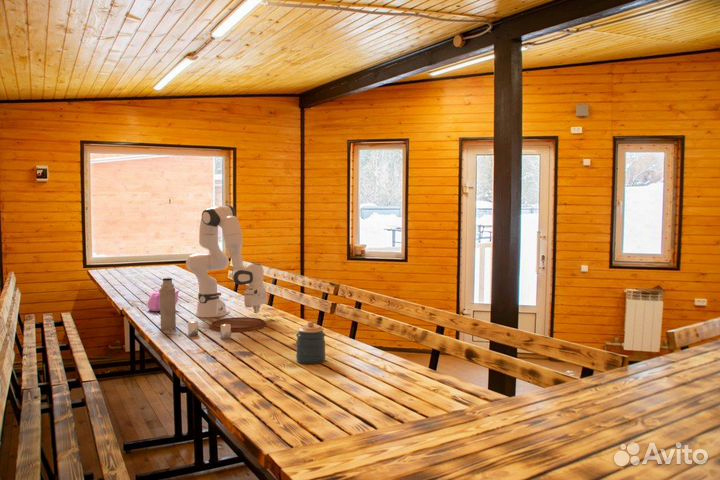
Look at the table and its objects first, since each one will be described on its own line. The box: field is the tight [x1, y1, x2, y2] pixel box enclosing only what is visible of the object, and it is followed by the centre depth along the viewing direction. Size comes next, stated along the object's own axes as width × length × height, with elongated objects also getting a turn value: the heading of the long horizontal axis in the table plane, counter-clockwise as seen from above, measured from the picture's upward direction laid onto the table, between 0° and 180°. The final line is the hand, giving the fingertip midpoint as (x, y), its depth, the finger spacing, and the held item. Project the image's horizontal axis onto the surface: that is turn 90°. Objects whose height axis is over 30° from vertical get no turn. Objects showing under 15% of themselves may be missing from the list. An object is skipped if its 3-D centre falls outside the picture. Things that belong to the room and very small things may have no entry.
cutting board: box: [208, 316, 267, 333], centre depth 318 cm, size 32×32×3 cm
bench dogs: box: [187, 320, 232, 340], centre depth 292 cm, size 5×25×7 cm, turn 70°
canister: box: [295, 321, 327, 365], centre depth 246 cm, size 13×13×18 cm
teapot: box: [146, 288, 181, 312], centre depth 366 cm, size 22×22×14 cm
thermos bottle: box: [159, 277, 177, 330], centre depth 312 cm, size 8×8×28 cm
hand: (256, 312), depth 336 cm, fingers closed
